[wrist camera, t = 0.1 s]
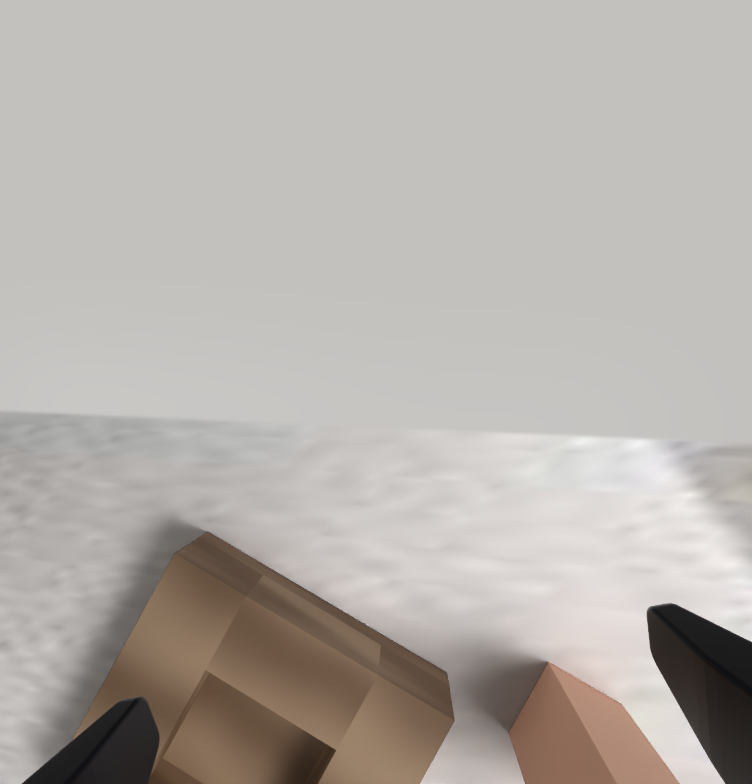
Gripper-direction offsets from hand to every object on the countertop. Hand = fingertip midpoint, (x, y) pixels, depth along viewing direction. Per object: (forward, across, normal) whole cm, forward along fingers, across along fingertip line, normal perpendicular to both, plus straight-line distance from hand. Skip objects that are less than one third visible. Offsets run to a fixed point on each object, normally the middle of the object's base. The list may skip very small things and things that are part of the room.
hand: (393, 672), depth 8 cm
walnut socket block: (+12, +9, +13) cm, 20 cm away
